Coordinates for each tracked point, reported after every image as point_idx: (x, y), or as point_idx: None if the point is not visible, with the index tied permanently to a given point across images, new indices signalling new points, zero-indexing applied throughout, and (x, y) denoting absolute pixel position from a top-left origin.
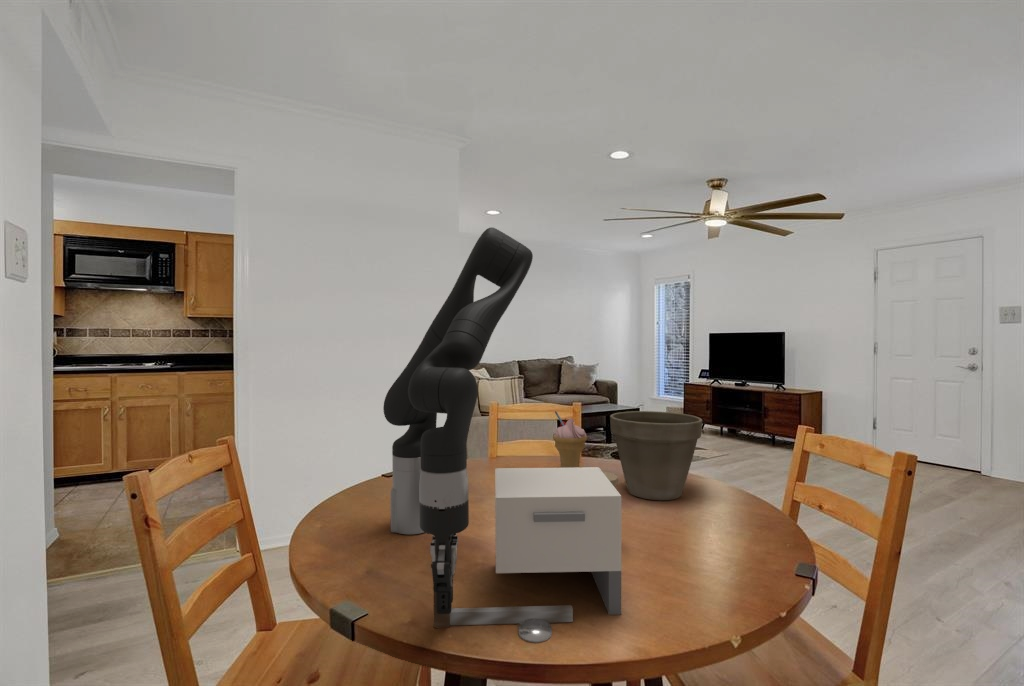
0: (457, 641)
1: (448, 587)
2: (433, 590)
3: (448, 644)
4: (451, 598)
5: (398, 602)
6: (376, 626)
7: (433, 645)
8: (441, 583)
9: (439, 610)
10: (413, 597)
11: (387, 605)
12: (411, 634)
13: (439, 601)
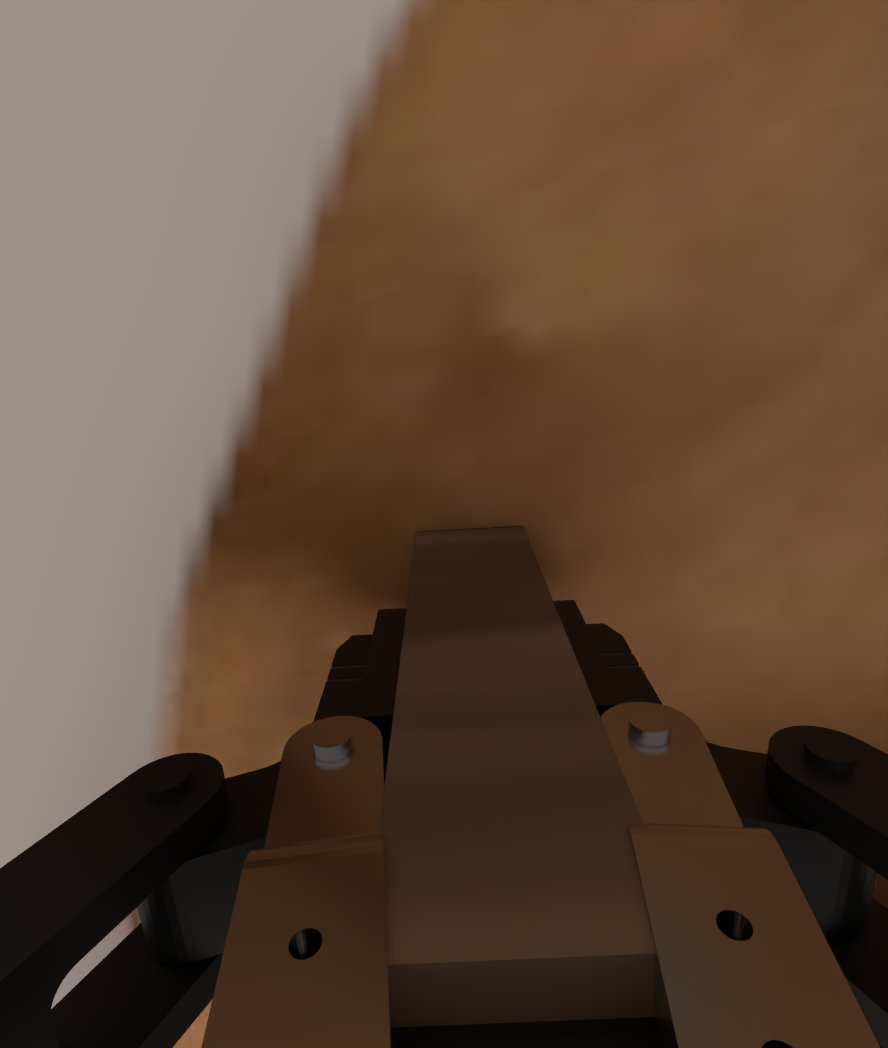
0: (281, 687)
1: (114, 967)
2: (402, 665)
3: (245, 643)
4: None
5: (806, 176)
6: (432, 69)
7: (224, 560)
8: (161, 907)
9: (341, 649)
10: (869, 296)
11: (769, 79)
12: (335, 393)
13: (324, 694)
